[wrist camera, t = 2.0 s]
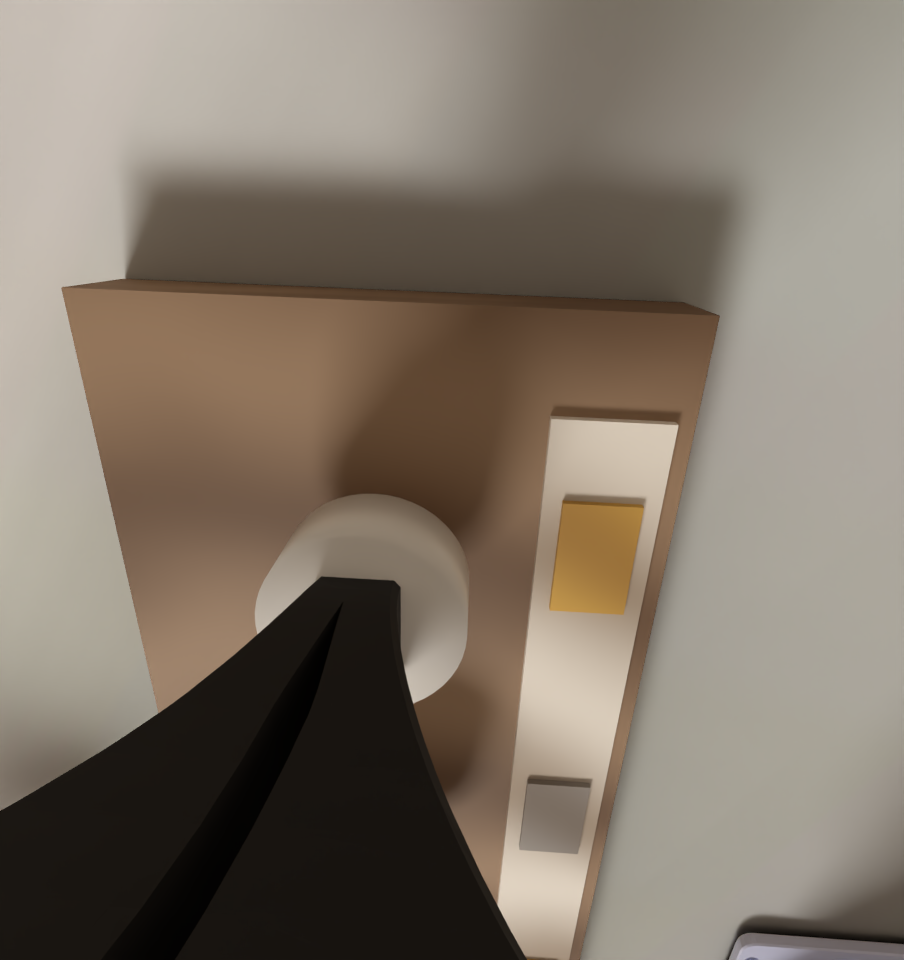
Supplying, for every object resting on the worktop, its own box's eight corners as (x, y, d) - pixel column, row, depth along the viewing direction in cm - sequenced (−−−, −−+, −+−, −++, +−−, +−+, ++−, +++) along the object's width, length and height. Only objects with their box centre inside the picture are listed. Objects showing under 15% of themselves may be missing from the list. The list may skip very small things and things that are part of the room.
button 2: (465, 656, 12) (462, 717, 10) (291, 645, 12) (265, 704, 10) (474, 499, 10) (472, 543, 9) (276, 488, 10) (243, 530, 9)
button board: (552, 989, 23) (559, 1069, 20) (251, 965, 23) (227, 1041, 21) (683, 302, 12) (727, 318, 10) (123, 278, 12) (47, 289, 10)
